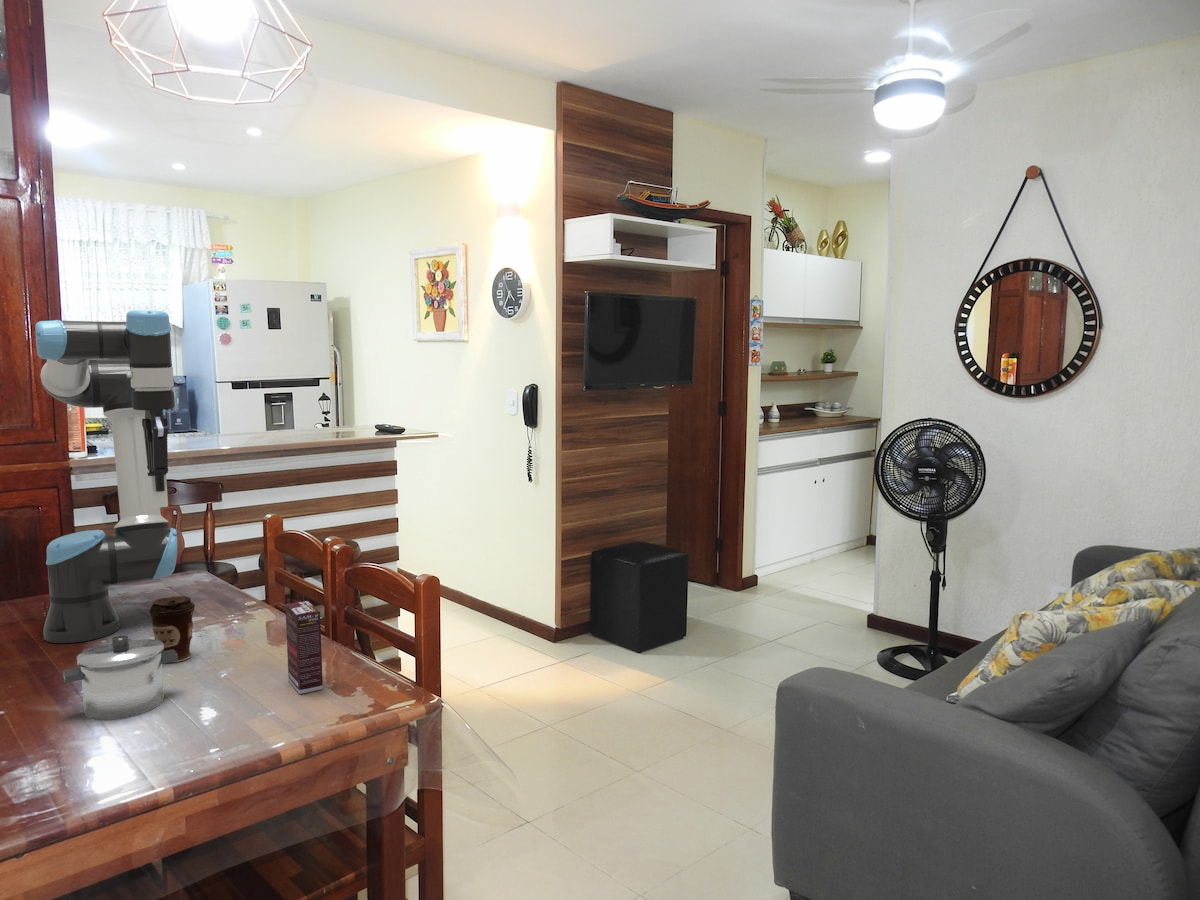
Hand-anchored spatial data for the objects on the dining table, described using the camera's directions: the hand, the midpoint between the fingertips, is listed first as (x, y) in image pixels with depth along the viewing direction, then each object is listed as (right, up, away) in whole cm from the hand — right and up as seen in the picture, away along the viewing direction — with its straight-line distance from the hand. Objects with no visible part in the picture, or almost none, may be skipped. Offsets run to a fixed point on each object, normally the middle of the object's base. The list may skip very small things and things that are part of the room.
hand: (160, 506), depth 169 cm
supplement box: (+30, -35, -3) cm, 47 cm away
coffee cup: (-3, -34, +11) cm, 35 cm away
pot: (0, -36, -12) cm, 38 cm away
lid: (-1, -27, -13) cm, 30 cm away
